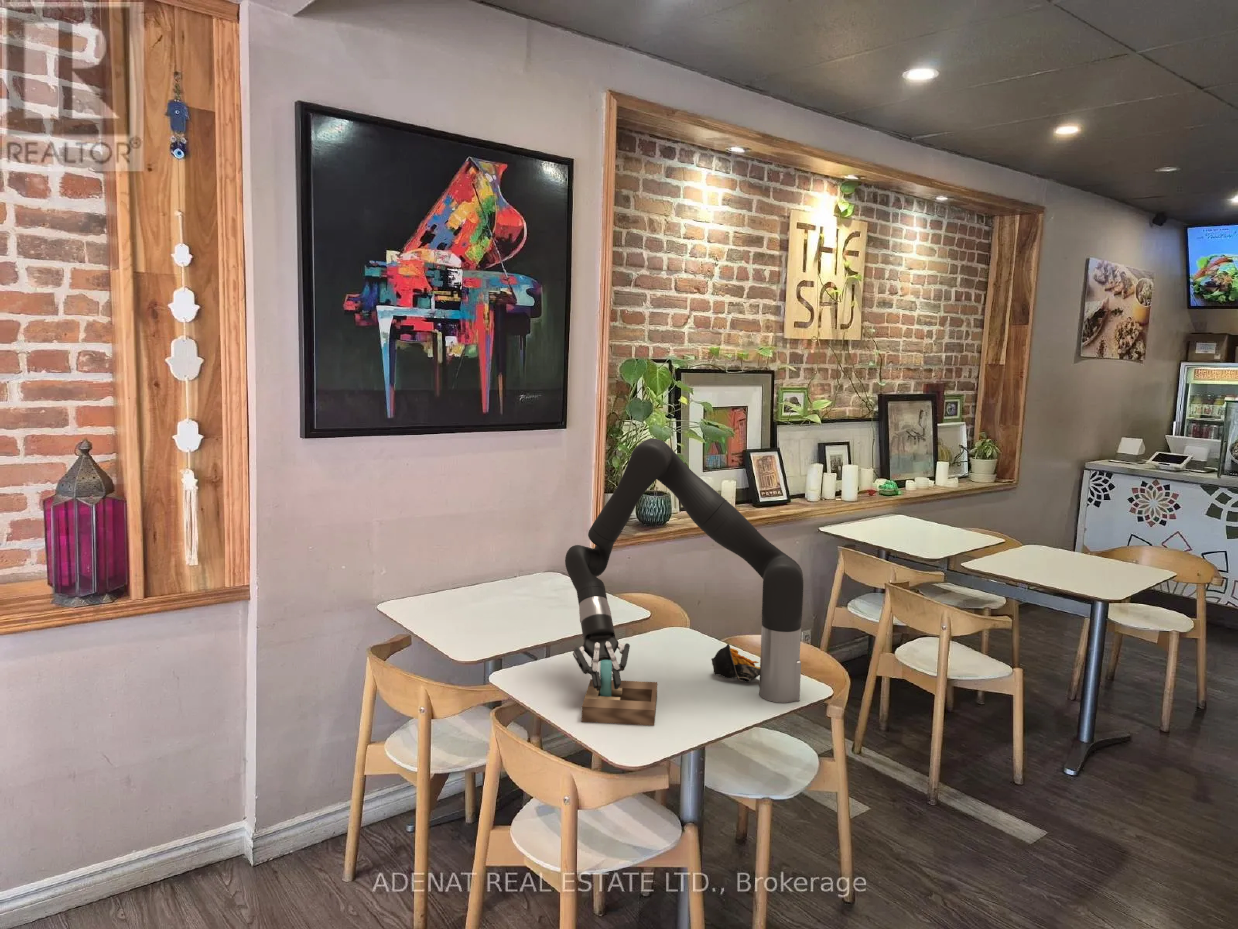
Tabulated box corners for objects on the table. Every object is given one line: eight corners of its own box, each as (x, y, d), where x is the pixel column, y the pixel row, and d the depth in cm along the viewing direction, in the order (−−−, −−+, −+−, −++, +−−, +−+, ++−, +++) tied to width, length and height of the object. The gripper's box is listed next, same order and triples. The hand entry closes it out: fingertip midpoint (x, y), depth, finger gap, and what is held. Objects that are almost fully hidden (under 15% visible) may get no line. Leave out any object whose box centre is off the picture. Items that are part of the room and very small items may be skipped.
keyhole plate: (657, 696, 195) (657, 682, 195) (654, 725, 180) (654, 710, 179) (590, 693, 197) (590, 679, 196) (581, 721, 181) (581, 706, 180)
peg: (617, 704, 191) (618, 658, 189) (615, 713, 186) (616, 666, 184) (595, 702, 191) (596, 657, 190) (593, 711, 186) (594, 665, 185)
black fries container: (708, 650, 214) (775, 631, 212) (720, 693, 211) (788, 674, 209) (705, 648, 205) (775, 629, 203) (718, 693, 202) (789, 673, 200)
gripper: (569, 614, 191) (580, 684, 181) (627, 610, 195) (641, 679, 185) (564, 629, 197) (575, 698, 187) (621, 625, 201) (634, 692, 190)
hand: (608, 688), depth 186 cm, fingers open, 3 cm apart
